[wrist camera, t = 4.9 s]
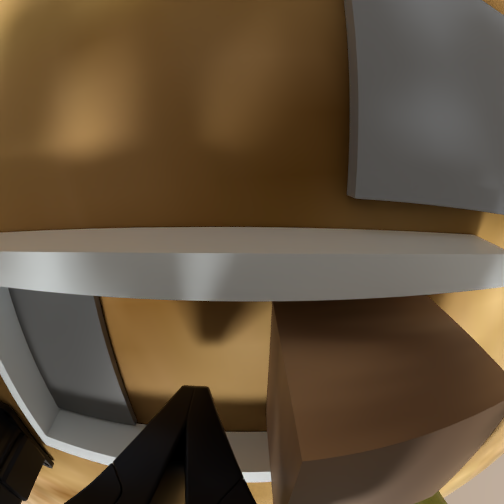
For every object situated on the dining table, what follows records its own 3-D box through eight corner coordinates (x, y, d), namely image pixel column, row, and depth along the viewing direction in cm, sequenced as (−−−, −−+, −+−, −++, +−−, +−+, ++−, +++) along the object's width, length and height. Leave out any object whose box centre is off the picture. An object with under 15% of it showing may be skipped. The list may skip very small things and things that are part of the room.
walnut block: (265, 415, 10) (275, 534, 5) (272, 300, 8) (302, 461, 3) (387, 400, 10) (431, 496, 5) (424, 292, 8) (521, 390, 3)
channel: (60, 416, 10) (45, 444, 8) (-8, 232, 7) (-45, 251, 5) (404, 423, 10) (419, 453, 9) (474, 234, 8) (513, 254, 6)
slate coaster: (346, 195, 7) (355, 198, 6) (336, -49, 4) (341, -59, 4) (521, 215, 7) (531, 219, 7) (511, 30, 5) (520, 28, 4)
